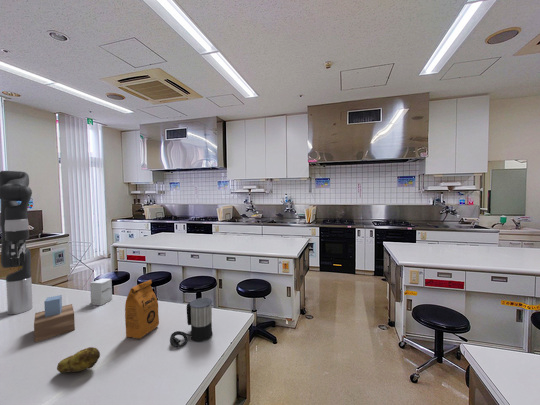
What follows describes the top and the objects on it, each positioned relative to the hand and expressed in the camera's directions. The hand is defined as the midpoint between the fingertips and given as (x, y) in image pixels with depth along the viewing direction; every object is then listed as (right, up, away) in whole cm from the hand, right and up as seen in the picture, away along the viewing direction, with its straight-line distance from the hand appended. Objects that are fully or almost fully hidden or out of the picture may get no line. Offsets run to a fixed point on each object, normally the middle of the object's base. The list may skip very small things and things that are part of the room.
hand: (18, 264), depth 108 cm
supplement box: (+18, -29, +28) cm, 44 cm away
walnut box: (+17, -30, 0) cm, 35 cm away
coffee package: (+59, -30, -3) cm, 66 cm away
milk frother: (+83, -30, -9) cm, 88 cm away
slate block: (+17, -22, -1) cm, 28 cm away
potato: (+49, -31, -26) cm, 64 cm away
